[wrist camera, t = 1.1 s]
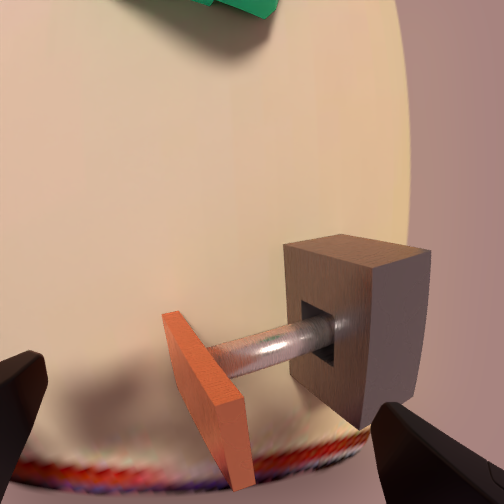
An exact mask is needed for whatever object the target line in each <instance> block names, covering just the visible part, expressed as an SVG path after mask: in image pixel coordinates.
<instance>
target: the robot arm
mask: <svg viewBox="0 0 504 504" xmlns="http://www.w3.org/2000/svg"><path fill="white" fill-rule="evenodd" d="M47 385H48V376H47V371H46V365H45V360H44V357H43V355H42V354H40V353H37V352H34V351H31V350H28V351H25V352H23V353H20V354H18V355H16V356H13V357H11V358H8V359H6V360H3V361H1V362H0V504H1V501H2V499H3V496H4V493H5V491H6V488H7V486H8V483H9V481H10V478H11V476H12V473H13V471H14V469H15V466H16V464H17V462H18V459H19V457H20V455H21V452H22V450H23V448H24V446H25V444H26V442H27V439H28V437H29V435H30V433H31V430H32V427H33V425H34V422H35V419H36V416H37V413H38V410H39V408H40V405H41V402H42V399H43V397H44V394H45V391H46V389H47ZM370 430H371V436H372V441H373V447H374V452H375V458H376V464H377V470H378V474H379V478H380V482H381V485H382V489H383V493H384V496H385V500H386V504H504V470H503V469H501V468H499V467H497V466H496V465H494V464H492V463H491V462H489V461H487V460H486V459H484V458H483V457H481V456H479V455H478V454H476V453H475V452H473V451H471V450H470V449H468V448H467V447H465V446H463V445H462V444H460V443H459V442H457V441H456V440H454V439H453V438H451V437H449V436H448V435H446V434H445V433H443V432H442V431H440V430H439V429H437V428H436V427H434V426H433V425H431V424H430V423H428V422H426V421H425V420H424V419H422V418H421V417H419V416H417V415H416V414H414V413H413V412H411V411H410V410H408V409H407V408H406V407H404V406H403V405H401V404H400V403H398V402H385V403H383V404H382V405H381V407H380V408H379V410H378V412H377V414H376V416H375V417H374V419H373V421H372V423H371V429H370Z"/></svg>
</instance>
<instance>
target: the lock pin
mask: <svg viewBox="0 0 504 504" xmlns="http://www.w3.org/2000/svg"><path fill="white" fill-rule="evenodd" d="M162 318H163V324H164V329H165V334H166V339H167V344H168V348H169V353H170V357H171V362H172V366H173V371H174V375H175V379H176V384H177V388H178V390H179V392H180V394H181V396H182V398H183V400H184V402H185V404H186V406H187V408H188V410H189V412H190V414H191V416H192V418H193V420H194V422H195V424H196V426H197V428H198V430H199V432H200V434H201V436H202V438H203V440H204V442H205V443H206V445H207V447H208V449H209V451H210V453H211V454H212V456H213V458H214V460H215V462H216V463H217V465H218V467H219V469H220V470H221V472H222V474H223V475H224V477H225V479H226V481H227V482H228V484H229V486H230V487H231V489H232V491H233V492H235V491H238V490H241V489H244V488H246V487H249V486H252V485H254V484H256V483H255V476H254V469H253V462H252V455H251V447H250V440H249V433H248V425H247V418H246V410H245V403H244V397H243V396H242V394H241V393H240V392H239V391H238V389H237V388H236V387H235V386H234V384H233V383H232V382H231V380H230V379H233V378H236V377H239V376H243V375H246V374H249V373H252V372H255V371H258V370H261V369H265V368H268V367H271V366H273V365H276V364H279V363H282V362H285V361H288V360H291V359H294V358H296V357H299V356H302V355H305V354H307V353H310V352H313V351H315V350H318V349H321V348H323V347H326V346H328V345H331V344H333V343H334V339H335V316H333V315H331V314H329V313H324V314H321V315H317V316H314V317H311V318H308V319H305V320H302V321H299V322H295V323H292V324H289V325H286V326H282V327H279V328H276V329H272V330H269V331H266V332H262V333H259V334H255V335H252V336H248V337H244V338H241V339H237V340H234V341H230V342H226V343H222V344H219V345H215V346H211V347H207V348H205V346H204V345H203V344H202V342H201V341H200V340H199V338H198V337H197V336H196V334H195V333H194V331H193V330H192V329H191V327H190V326H189V324H188V323H187V322H186V320H185V319H184V317H183V316H182V315H181V313H180V312H179V311H175V312H170V313H166V314H162Z"/></svg>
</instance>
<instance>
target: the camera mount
mask: <svg viewBox="0 0 504 504" xmlns="http://www.w3.org/2000/svg"><path fill="white" fill-rule="evenodd" d="M192 1H195V2H198V3H201V4H204V5H207V6H210V5H211V4H212V2H213V1H214V0H192ZM217 1H220V2H222V3H225V4H228V5H230V6H233V7H236V8H238V9H241V10H243V11H246V12H248V13H251V14H253V15H255V16H258V17H260V18H262V19H266V18H267V17H268V16H269V15H270V14H271V13H272V12H274V11H275V10H276V7H277V4H278V0H217Z"/></svg>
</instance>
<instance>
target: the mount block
mask: <svg viewBox="0 0 504 504" xmlns="http://www.w3.org/2000/svg"><path fill="white" fill-rule="evenodd" d="M283 245H284V261H285V277H286V295H287V314H288V325H289V324H292V323H295V322H299V321H302V320H305V319H308V318H311V317H314V316H317V315H321V314H324V313H329V314H331V315H333V316H335V339H334V343H333V344H331V345H328V346H326V347H323V348H321V349H318V350H315V351H313V352H310V353H307V354H305V355H302V356H299V357H296V358H294V359H291V360H290V375H291V376H292V377H294V378H295V379H296V380H297V381H298V382H299V383H301V384H302V385H303V386H304V387H305V388H307V389H308V390H309V391H310V392H311V393H313V394H314V395H315V396H316V397H318V398H319V399H320V400H321V401H322V402H324V403H325V404H326V405H327V406H329V407H330V408H331V409H332V410H334V411H335V412H336V413H337V414H339V415H340V416H341V417H342V418H344V419H345V420H346V421H347V422H349V423H350V424H351V425H353V426H354V427H355V428H356V429H358V430H359V431H360V430H361V429H363V428H365V427H367V426H368V425H370V424H371V423H372V421H373V419H374V417H375V416H376V414H377V412H378V410H379V408H380V407H381V405H382V404H383V403H385V402H398V403H400V404H403V403H404V402H405V401H407V400H409V399H410V398H411V397H413V394H414V390H415V385H416V380H417V375H418V369H419V364H420V358H421V352H422V345H423V338H424V331H425V324H426V315H427V306H428V295H429V283H430V267H431V250H426V249H421V248H416V247H410V246H405V245H400V244H394V243H389V242H383V241H378V240H372V239H367V238H361V237H355V236H350V235H344V234H339V235H334V236H328V237H322V238H317V239H311V240H305V241H300V242H294V243H289V244H283Z"/></svg>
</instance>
